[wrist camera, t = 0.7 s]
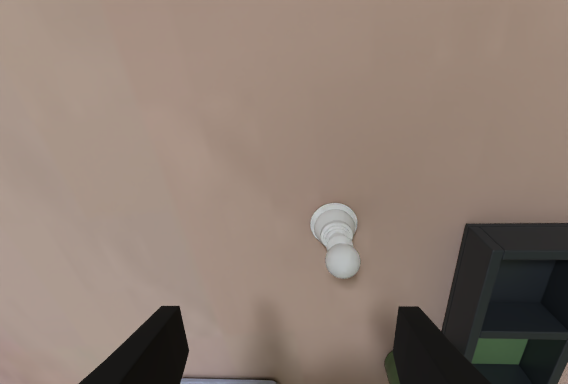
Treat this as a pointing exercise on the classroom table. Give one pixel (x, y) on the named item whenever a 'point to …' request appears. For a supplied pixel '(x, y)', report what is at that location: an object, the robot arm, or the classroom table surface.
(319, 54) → the classroom table surface
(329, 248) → the chess pawn
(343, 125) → the classroom table surface
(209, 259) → the classroom table surface
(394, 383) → the sage peg
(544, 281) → the tray
